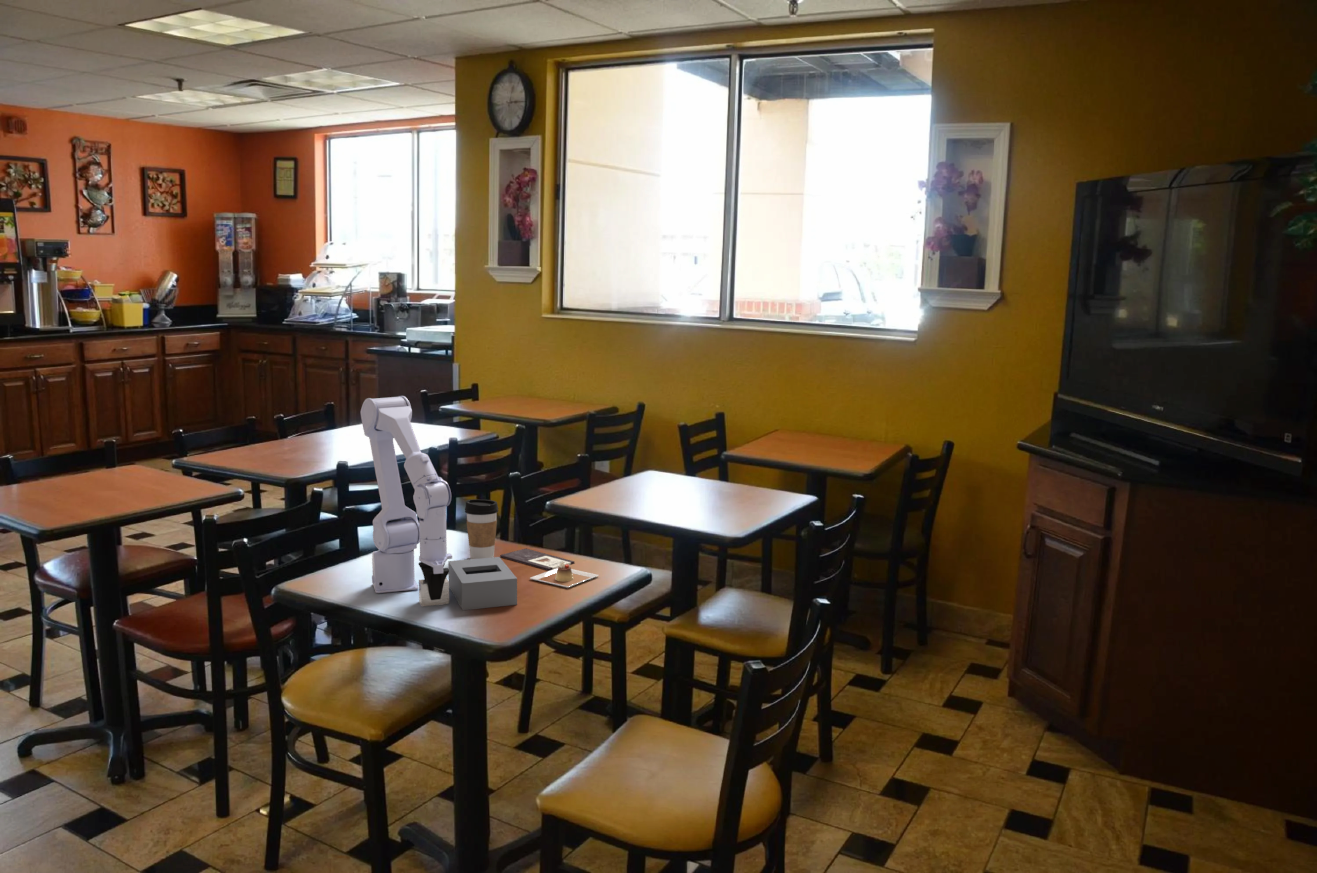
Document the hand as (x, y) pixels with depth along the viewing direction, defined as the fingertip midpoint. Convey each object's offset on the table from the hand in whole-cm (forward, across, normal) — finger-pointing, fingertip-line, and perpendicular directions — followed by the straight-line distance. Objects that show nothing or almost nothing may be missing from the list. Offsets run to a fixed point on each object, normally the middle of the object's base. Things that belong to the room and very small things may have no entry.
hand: (434, 596), depth 217 cm
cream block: (+1, 0, 0) cm, 1 cm away
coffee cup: (+2, +32, -17) cm, 36 cm away
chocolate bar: (+2, +26, -30) cm, 40 cm away
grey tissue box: (+1, +2, -11) cm, 11 cm away
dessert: (+2, +8, -32) cm, 33 cm away
